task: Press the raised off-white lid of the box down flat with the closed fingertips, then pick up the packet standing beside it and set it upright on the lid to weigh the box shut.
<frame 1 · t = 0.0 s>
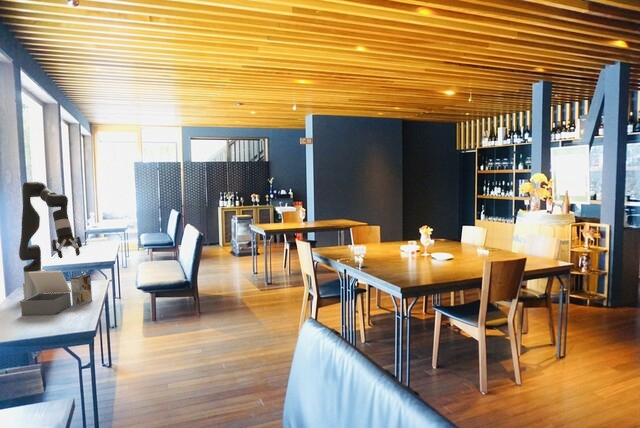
hand: (69, 256, 240), 31 cm above the table, tool tilted 20°, fingers open, 8 cm apart
lid: (49, 282, 251), point 15 cm above the table, hinge at 60.0°
coffee box: (82, 303, 263), on the table
box: (47, 310, 248), on the table
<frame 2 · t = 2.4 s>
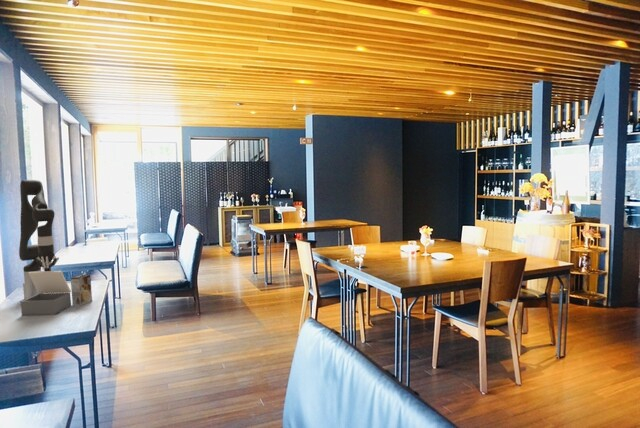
hand: (47, 274, 249), 20 cm above the table, tool pointing down, fingers closed
lid: (49, 282, 251), point 15 cm above the table, hinge at 59.9°, touching gripper
everything else where it was.
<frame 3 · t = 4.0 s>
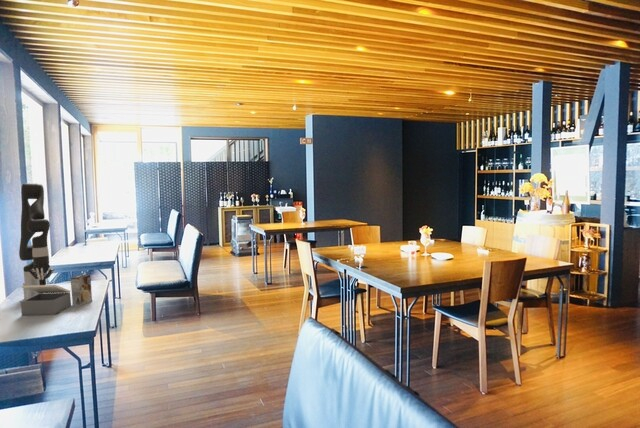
hand: (42, 286, 244), 15 cm above the table, tool pointing down, fingers closed
lid: (46, 289, 248), point 12 cm above the table, hinge at 26.5°, touching gripper
everything else where it was.
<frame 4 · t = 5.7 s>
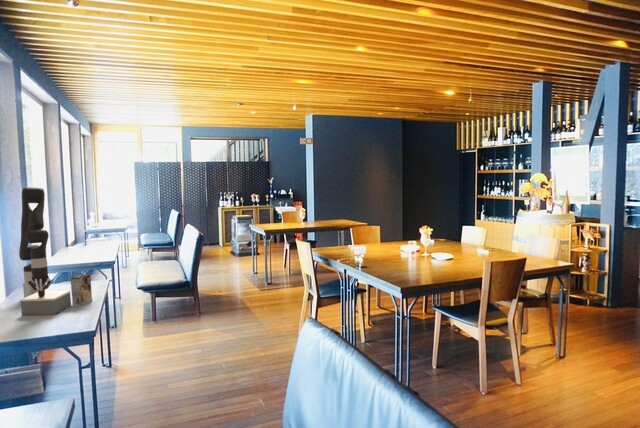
hand: (41, 297, 243), 9 cm above the table, tool pointing down, fingers closed
lid: (46, 295, 247), point 9 cm above the table, hinge at -0.1°, touching gripper
everything else where it was.
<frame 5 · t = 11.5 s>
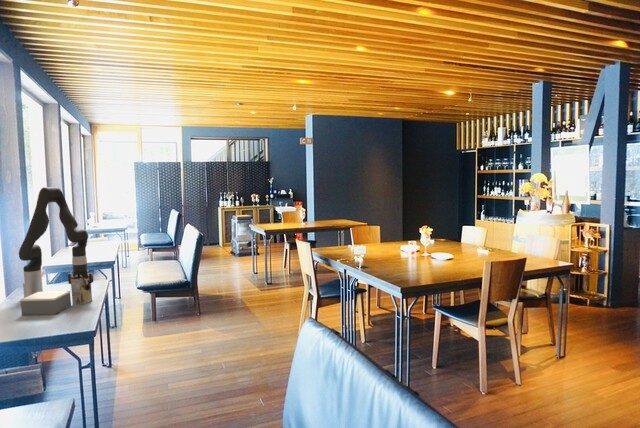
hand: (81, 290, 262), 7 cm above the table, tool pointing down, fingers closed on coffee box, 7 cm apart
lid: (46, 295, 247), point 9 cm above the table, hinge at -0.1°
coffee box: (82, 302, 263), on the table, touching gripper
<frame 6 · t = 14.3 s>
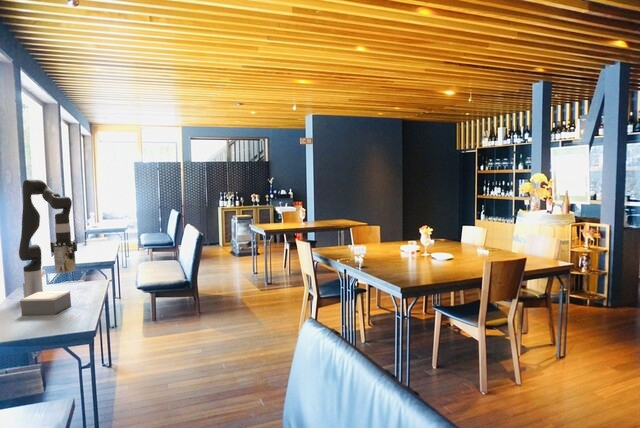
hand: (64, 259, 254), 28 cm above the table, tool pointing down, fingers closed on coffee box, 7 cm apart
coffee box: (65, 272, 255), point 20 cm above the table, touching gripper
everything else where it was.
when the fingers open (18 cm above the table, at t = 17.5 s): coffee box drops 1 cm, resting on lid.
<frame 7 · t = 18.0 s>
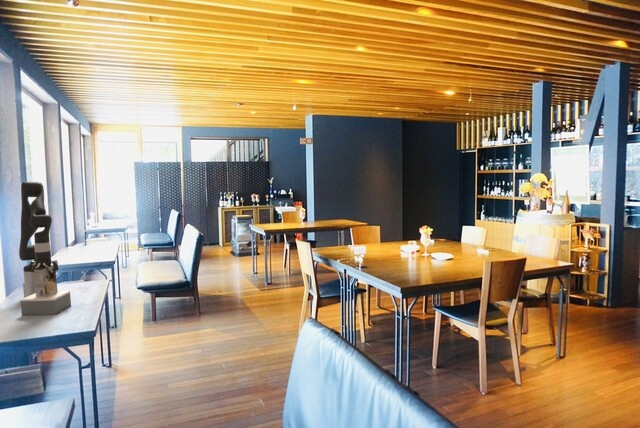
hand: (44, 279, 246), 18 cm above the table, tool pointing down, fingers open, 8 cm apart
lid: (46, 295, 247), point 9 cm above the table, hinge at -0.3°, touching coffee box
coffee box: (46, 295, 247), point 9 cm above the table, touching lid
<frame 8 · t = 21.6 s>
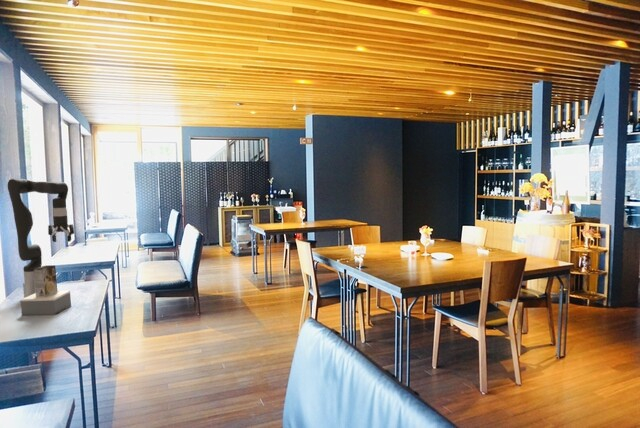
hand: (61, 241, 267), 36 cm above the table, tool pointing down, fingers open, 8 cm apart
nothing on the table moved.
at the end: lid at +0° (first picture: +60°); coffee box inside the target area on the box (0.3 cm from its centre), point 8.9 cm above the box's base; coffee box tilted 0° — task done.
